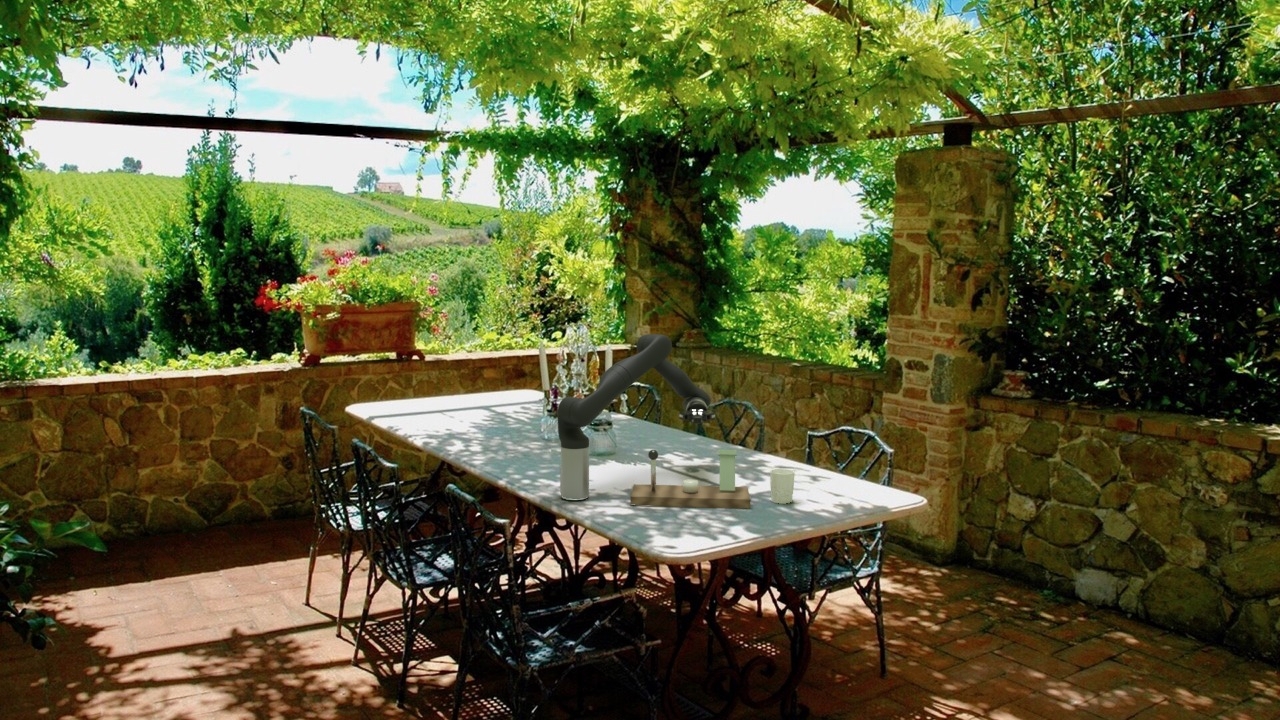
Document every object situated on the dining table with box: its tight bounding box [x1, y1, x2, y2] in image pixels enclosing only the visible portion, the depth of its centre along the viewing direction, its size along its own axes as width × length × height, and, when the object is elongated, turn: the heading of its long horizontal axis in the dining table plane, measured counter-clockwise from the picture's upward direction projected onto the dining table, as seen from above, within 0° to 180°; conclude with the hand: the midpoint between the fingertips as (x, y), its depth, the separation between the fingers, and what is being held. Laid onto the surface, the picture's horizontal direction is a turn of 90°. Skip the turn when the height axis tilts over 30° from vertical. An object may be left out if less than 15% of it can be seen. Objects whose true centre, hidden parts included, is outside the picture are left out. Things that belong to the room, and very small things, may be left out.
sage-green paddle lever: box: [717, 449, 738, 491], centre depth 316 cm, size 6×2×13 cm, turn 87°
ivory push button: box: [682, 479, 699, 493], centre depth 314 cm, size 5×5×3 cm
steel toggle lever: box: [647, 449, 659, 491], centre depth 310 cm, size 3×3×16 cm
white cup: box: [769, 468, 796, 505], centre depth 314 cm, size 8×8×10 cm
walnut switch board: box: [630, 483, 751, 510], centre depth 314 cm, size 38×16×3 cm, turn 87°
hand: (697, 420), depth 323 cm, fingers closed
